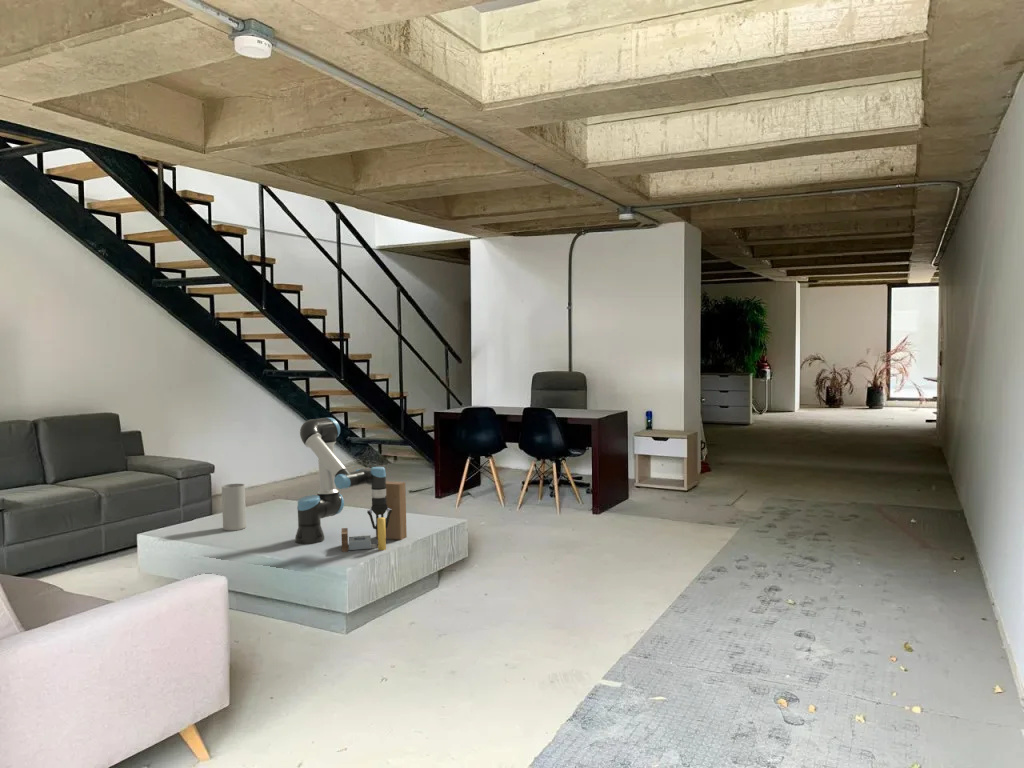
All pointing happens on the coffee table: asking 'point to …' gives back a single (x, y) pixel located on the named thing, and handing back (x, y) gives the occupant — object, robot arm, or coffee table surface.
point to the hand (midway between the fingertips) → (380, 541)
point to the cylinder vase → (233, 507)
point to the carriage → (359, 542)
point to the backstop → (344, 539)
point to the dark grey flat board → (371, 546)
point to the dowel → (381, 533)
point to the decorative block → (396, 510)
